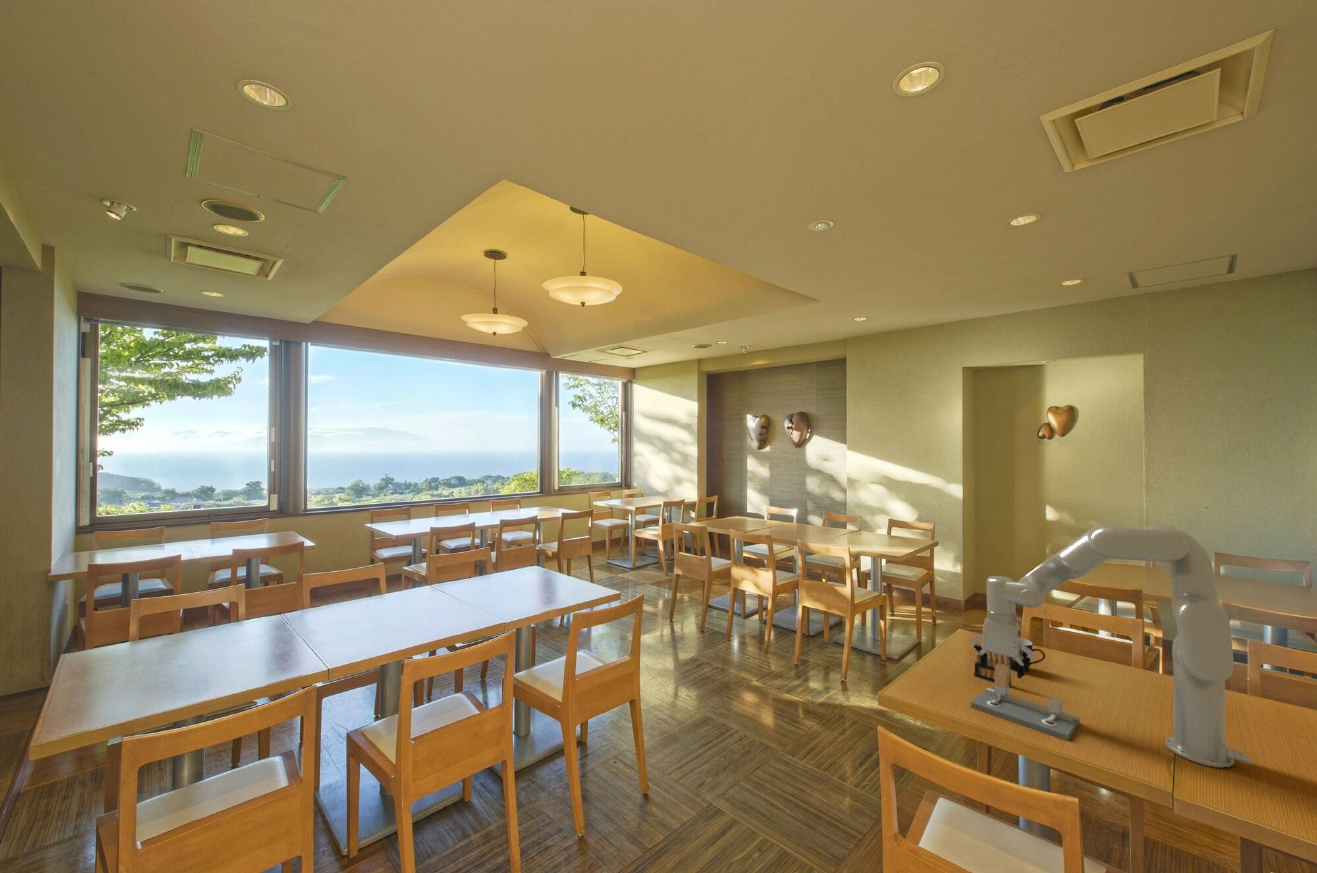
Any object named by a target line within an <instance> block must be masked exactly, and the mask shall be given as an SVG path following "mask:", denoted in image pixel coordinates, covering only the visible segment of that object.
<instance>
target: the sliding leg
mask: <svg viewBox="0 0 1317 873" xmlns="http://www.w3.org/2000/svg"><path fill="white" fill-rule="evenodd" d="M993 690H994V693H997V698H996V699H995V700H993V701H992V702H993V704H995V705H997V704H998V703H999V702H1000V701H1001V700H1002V695H1003V696H1006V695H1007V694H1010V687H1009V666H1007V665H1004V664H1000V663H997V664H996V665H995V683H994V688H993Z"/></svg>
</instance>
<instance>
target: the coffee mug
mask: <svg viewBox="0 0 1317 873" xmlns="http://www.w3.org/2000/svg"><path fill="white" fill-rule="evenodd" d="M1022 644H1023V645H1024V646H1026V647H1027V648H1029V649H1030V650H1032V651H1033V652H1036V651H1037V652H1040V653H1041V654H1042V658H1041V659H1039V660H1036V661H1030V662H1028V663H1026V664H1025V673H1029V672H1030V666H1032V665H1033V664H1037V663H1040V662H1042V661H1043V660H1044V659H1045V658H1046V653H1045V652H1044V651H1043V650H1042V649H1040V648H1033V645H1034V644H1033V642H1032V641H1031V640H1030V639H1026V638H1023V637H1022ZM1021 655H1022V657H1023V658H1024V659H1025V658H1026V657H1027V656H1028V654H1027V653H1026V652H1024V651H1023V652H1022V654H1021ZM1009 661H1010V671H1014V672H1017V665H1018V664H1019V663H1018V662H1017V661H1016V659H1015V658H1013V657H1009Z"/></svg>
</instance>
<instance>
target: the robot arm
mask: <svg viewBox="0 0 1317 873" xmlns="http://www.w3.org/2000/svg"><path fill="white" fill-rule="evenodd" d="M1109 559H1115V560H1116V559H1117V560H1127V561H1140V562H1141V561H1143V562H1158V563H1159V562H1160V563H1166V564H1167V566H1168V570H1169V571H1168V572H1169V579H1170V587H1171V611H1172V615H1173V617H1174V618H1175V619H1176V627H1177V628H1176V629H1177V635H1176V636H1175V638H1174V639H1173V641H1172V645H1171V646H1172V648H1171V652H1172V653H1171V654H1172V663H1173V664H1172V666H1173V736H1169V737H1167V738H1166V739H1165V746H1166V748H1168V750H1170V751H1171V752H1172V751H1173V752H1172V753H1173V754H1176V755H1178V756H1179V757H1182V758H1183V759H1186V760H1188V761H1191V762H1194V763H1197V764H1201V765H1204V766H1207V767H1212V766H1213V768H1218V767H1219V768H1220V769H1225V768H1224V767H1229V768H1231V767H1230V766H1232V765H1233V764H1235V761H1238V762H1240V763H1243V764H1246V765H1250V766H1252V756H1249V755H1246V754H1245V752H1244V751H1241V750H1238V749H1234V748H1232V747H1231V746H1228V740H1226V680H1227V679H1229V678H1230V677H1231V676H1232V674H1233V672H1234V662H1235V661H1234V651H1233V638H1232V637H1233V636H1232V629H1231V624H1230V619H1229V617H1228V614H1227V613H1226V611H1225V610H1224V608H1223V607H1222V606H1221V605H1220V603H1219V599H1218V593H1217V585H1216V583H1217V582H1216V578H1215V577H1216V576H1215V571H1214V566H1213V563H1212V561H1211V558H1210V556H1209V554H1208V552H1207V551H1206V550H1205V548H1204V547H1203V546H1202V545H1201V544H1200V543H1199V542H1198V541H1197V540H1196V539H1195V538H1193V537H1192V536H1190V534H1188V533H1186V532H1184V531H1182V530H1180V529H1178V528H1176V527H1173V526H1171V525H1167V524H1166V525H1165V524H1159V523H1158V524H1152V525H1149V526H1147V527H1146V528H1131V527H1130V528H1128V527H1118V526H1116V525H1114V524H1112V523H1107V522H1106V523H1099V524H1097V525H1095V526H1093V527H1091V528H1089V530H1087V531H1085V532H1083V533H1082V535H1080V536H1079V537H1078V538H1075V539H1074V540H1073V541H1072V542H1071V543H1069V544H1068V545H1066V546H1065V547H1064V548H1061V549H1060V550H1059V551H1058V552H1057V553H1055V554H1053V555H1052V556H1051V557H1050V558H1048V559H1046V560H1045V561H1044V562H1042V563H1041V564H1038V566H1036V567H1035V568H1033V570H1030V572H1028V573H1026V574H1025V575H1024V576H1022V577H1021V578H1020V579H1019V580H1018V581H1014V580H1013V579H1012V578H1010V577H1006V576H1003V575H1002V576H1001V575H991V576H988V577H987V579H986V617H985V618H984V622H983V625H982V626H983V628H982V634H981V635H979V636H978V635H977V636H974V637H972V638H970V641H971V643H972V645H973V647H974V649H975V651H976V650H977V651H978V652H979V655H980V664H982V668H983V669H985V668H986V667H988V651H989V652H992V654H993V653H996V654H998V655H999V654H1000V655H1003V657H1005V656H1008V657H1013V658H1015V659H1016V661H1017V662H1018V663H1019V664H1018V665H1017V671H1016V675H1017V676H1016V677H1017V679H1020V680H1021V679H1022V678H1023V677H1024V676H1025V675H1026V672H1025V664H1026V663H1028V662H1032V660H1033V659H1034V657H1035V655H1036V651H1034V652H1033V651H1032V650H1030V649H1029V648H1027V647H1026V646H1024V645H1023V644H1022V638H1023V637H1022V632H1021V626H1020V622H1021V621H1022V616H1018V615H1017V612H1016V605H1018V606H1022V607H1027V608H1038V607H1041V606H1042V605H1043V603H1044V602H1045V601H1046V596H1047V595H1048V594H1049V593H1051V592H1052V591H1053V590H1055V589H1056V588H1058V587H1060V586H1061V585H1062V584H1064V583H1066V582H1069V581H1071V580H1075V579H1079V578H1082V577H1085V576H1086V575H1088V574H1089V573H1090V572H1092V571H1093V570H1094V569H1096V568H1099V566H1100V565H1102V564H1103V563H1106V561H1108V560H1109ZM1018 622H1019V623H1018ZM980 641H981V642H982V643H981V644H980V643H979V644H980V645H979V644H978V642H980ZM981 645H982V646H981ZM982 647H983V649H982ZM1023 651H1024V652H1026V653H1027V654H1028V656H1027V657H1026V658H1025V659H1024V658H1023V657H1022V655H1021V654H1022V652H1023ZM1233 766H1234V765H1233ZM1233 766H1232V767H1233ZM1222 767H1223V768H1222Z"/></svg>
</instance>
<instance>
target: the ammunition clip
mask: <svg viewBox="0 0 1317 873" xmlns="http://www.w3.org/2000/svg"><path fill="white" fill-rule="evenodd" d="M978 644H979V645H980V646H981V644H980V641H978ZM981 647H982V649H983V646H981ZM987 655H988V667H986V668H985V669H983V668H982V664H980V655H979V652H978V651H977V650H976V649H975V662H974V677H976V678H979V679H983V680H985V681H988V682H992V683H994V684H995V665H996V664H997V663H1000V664H1004V665H1007V666H1009V688H1010V687H1011V686H1012V678H1011V669H1010V661H1009V657H1008V656H1004V655H1000V654H996V653H993V652H989V651H987Z"/></svg>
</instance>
